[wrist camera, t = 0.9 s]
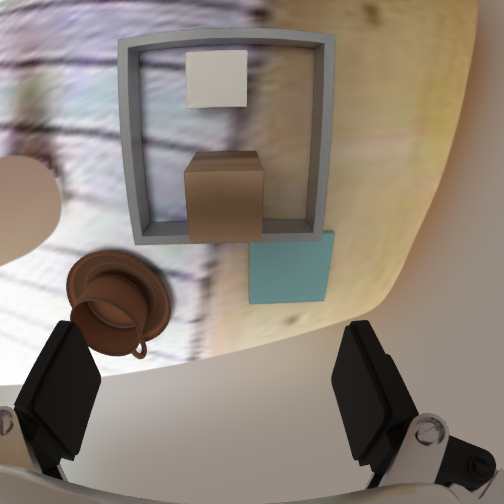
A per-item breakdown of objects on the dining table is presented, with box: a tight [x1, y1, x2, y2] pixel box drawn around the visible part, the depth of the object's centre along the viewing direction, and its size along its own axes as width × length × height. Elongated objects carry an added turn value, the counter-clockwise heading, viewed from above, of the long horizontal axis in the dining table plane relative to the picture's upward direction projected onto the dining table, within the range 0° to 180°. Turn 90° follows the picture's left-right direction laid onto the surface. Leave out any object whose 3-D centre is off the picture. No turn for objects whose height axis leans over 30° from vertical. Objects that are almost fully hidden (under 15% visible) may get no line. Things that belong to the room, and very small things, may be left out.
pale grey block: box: [186, 50, 247, 109], centre depth 20 cm, size 4×4×5 cm
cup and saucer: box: [66, 251, 171, 359], centre depth 29 cm, size 12×12×6 cm
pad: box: [249, 231, 335, 304], centre depth 31 cm, size 8×8×1 cm
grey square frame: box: [118, 28, 335, 245], centre depth 23 cm, size 17×16×3 cm
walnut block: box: [184, 151, 264, 243], centre depth 23 cm, size 5×5×7 cm
